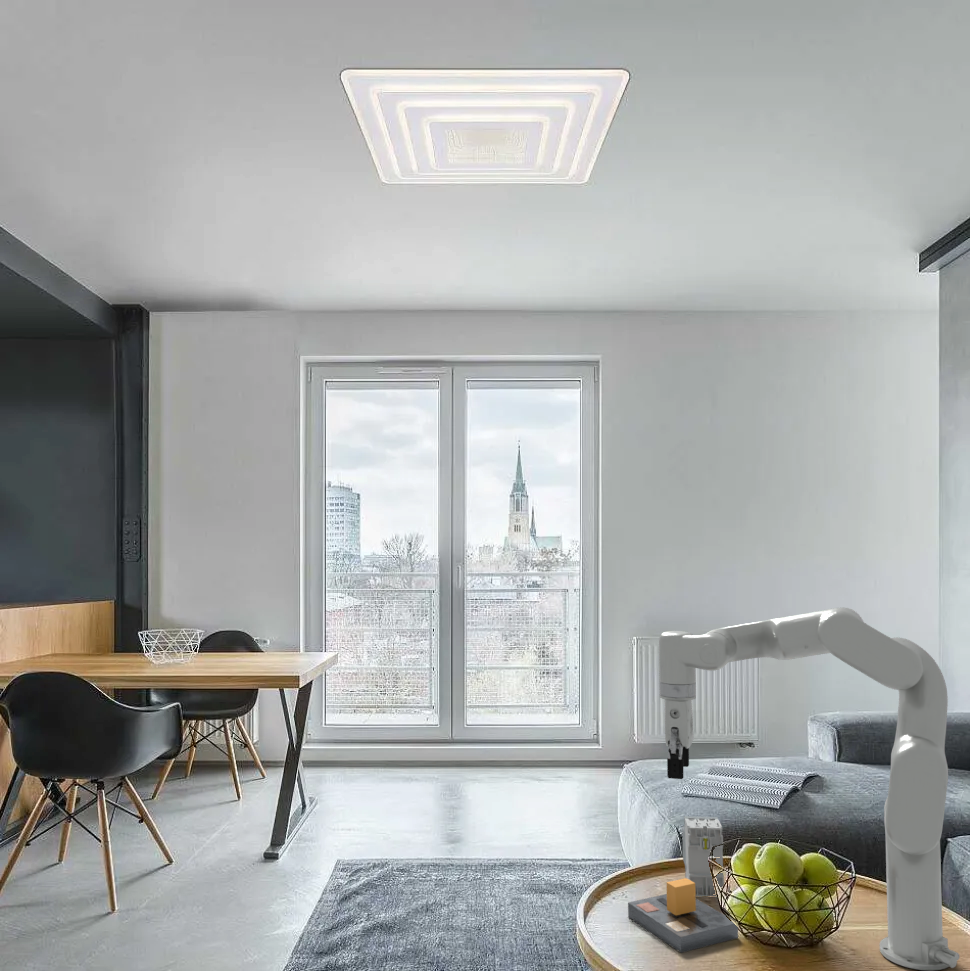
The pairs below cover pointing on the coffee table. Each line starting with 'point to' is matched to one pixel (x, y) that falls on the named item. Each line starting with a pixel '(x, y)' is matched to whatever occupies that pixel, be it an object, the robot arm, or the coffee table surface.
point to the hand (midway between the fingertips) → (678, 772)
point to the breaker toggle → (681, 896)
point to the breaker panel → (682, 923)
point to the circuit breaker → (702, 852)
